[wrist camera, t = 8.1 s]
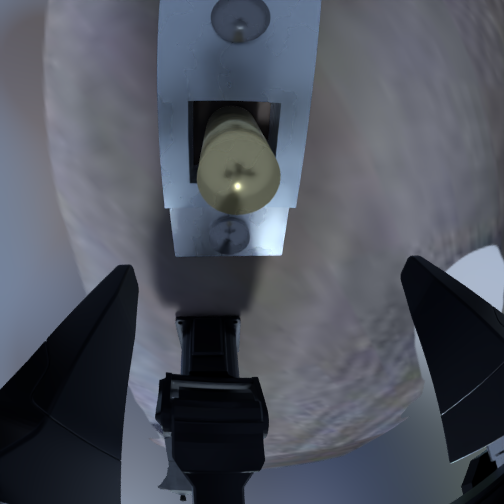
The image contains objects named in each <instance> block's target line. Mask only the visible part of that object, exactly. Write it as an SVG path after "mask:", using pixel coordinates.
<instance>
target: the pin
mask: <svg viewBox="0 0 504 504" xmlns="http://www.w3.org/2000/svg"><path fill="white" fill-rule="evenodd" d="M280 178H281V174H280V167H279V164H278V162H277V160H276V158H275V156H274V154H273V152H272V150H271V148H270V147H269V145H268V143H267V141H266V139H265V137H264V135H263V134H262V132H261V130H260V128H259V126H258V125H257V123H256V121H255V119H254V118H253V116H252V115H251V114H250V113H249V112H248V111H247V110H246V109H244V108H242V107H238V106H225V107H222V108H220V109H218V110H216V111H215V112H214V113H213V114H212V115H211V116H210V118H209V120H208V122H207V125H206V130H205V135H204V140H203V145H202V150H201V155H200V161H199V166H198V172H197V185H198V189H199V192H200V194H201V196H202V197H203V199H204V200H205V201H206V202H207V203H208V204H209V205H210V206H211V207H213V208H214V209H216V210H218V211H220V212H222V213H226V214H231V215H244V214H249V213H252V212H255V211H257V210H259V209H261V208H263V207H264V206H265V205H267V204H268V203H269V202H270V201H271V200H272V199H273V197H274V196H275V194H276V192H277V190H278V188H279V185H280Z"/></svg>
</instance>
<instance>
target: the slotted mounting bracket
mask: <svg viewBox="0 0 504 504" xmlns="http://www.w3.org/2000/svg"><path fill="white" fill-rule="evenodd" d="M320 9H321V0H160V6H159V22H158V48H157V101H158V128H159V146H160V161H161V173H162V185H163V195H164V205H165V208H170V217H171V226H172V234H173V242H174V250H175V257H197V256H261V255H282V250H283V243H284V237H285V231H286V224H287V218H288V211H289V208H296V203H297V197H298V191H299V184H300V178H301V171H302V164H303V158H304V151H305V143H306V136H307V129H308V121H309V114H310V106H311V98H312V89H313V81H314V72H315V63H316V53H317V43H318V32H319V21H320ZM213 100H224V101H258V102H271V110H270V121H269V133H268V145H269V147H270V148H271V150H272V152H273V154H274V156H275V158H276V160H277V162H278V164H279V167H280V174H281V178H280V185H279V188H278V190H277V192H276V194H275V196H274V197H273V199H272V200H271V201H270V202H269V203H268V204H267V205H265V206H264V207H263V208H261V209H259V210H257V211H255V212H252V213H249V214H244V215H231V214H226V213H222V212H220V211H218V210H216V209H214V208H213V207H211V206H210V205H209V204H208V203H207V202H206V201H205V200H204V199H203V197H202V196H201V194H200V192H199V189H198V185H197V172H198V166H199V165H194V152H193V101H213Z"/></svg>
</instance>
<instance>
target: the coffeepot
mask: <svg viewBox="0 0 504 504" xmlns="http://www.w3.org/2000/svg"><path fill="white" fill-rule="evenodd" d="M165 445H166V451H167V456H168V461H169V467H168V472H167V476H166V478H165V479H164V481H163V482H162V484H161V485H159V486H158V488H160V489H163V490H166V491H170V492H173V493H176V494H179V495H181V497H180V500H181V501H186V497H185V495H188V494H192V485H191V484H190V483H189V481H188V480H187V478H186V477H185V476H184V474H183V473H182V472H181V470H180V469H179V467H178V466H177V464H176V463H175V461H174V460H173V458H172V437H168V438H165Z"/></svg>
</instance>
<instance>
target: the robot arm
mask: <svg viewBox="0 0 504 504" xmlns="http://www.w3.org/2000/svg"><path fill="white" fill-rule="evenodd" d="M401 282H402V286H403V289H404V292H405V296H406V299H407V303H408V306H409V310H410V313H411V317H412V320H413V322H414V325H415V328H416V331H417V334H418V336H419V340H420V342H421V346H422V349H423V352H424V355H425V358H426V361H427V365H428V368H429V371H430V375H431V378H432V382H433V385H434V389H435V393H436V397H437V401H438V405H439V409H440V414H441V419H442V423H443V428H444V433H445V439H446V444H447V450H448V456H449V461H450V463H453V462H455V461H457V460H459V459H462V458H464V457H466V456H468V455H470V454H472V453H474V452H476V451H478V450H480V449H482V448H484V447H485V446H486V447H487V450H485V451H484V452H482V453H481V454H480V455H478V456H477V457H476V458H474V459H473V460H471V461H470V464H469V467H468V470H467V473H466V476H465V478H464V481H463V483H462V486H461V488H462V492H463V495H462V496H461V497H459V498H458V499H457V500H455V501H453V502H452V503H450V504H504V314H503V313H501V312H500V311H499V310H497V309H496V308H495V307H492V305H491V304H489V303H488V302H486V301H485V300H484V299H482V298H481V297H480V296H478V295H477V294H475V293H474V292H473V291H472V290H470V289H469V288H467V287H466V286H465V285H463V284H462V283H460V282H459V281H457V280H456V279H454V278H453V277H451V276H450V275H448V274H447V273H446V272H444V271H443V270H441V269H440V268H438V267H437V266H435V265H433V264H432V263H430V262H429V261H427V260H426V259H424V258H423V257H421V256H418V255H417V256H410V257H409V258H408V259H407V261H406V264H405V266H404V268H403V270H402V272H401ZM138 293H139V288H138V283H137V279H136V276H135V273H134V269H133V267H132V266H131V265H118V266H117V267H116V268H115V269H114V270H113V271H112V272H111V273H110V274H109V275H108V276H106V277H105V278H104V279H103V280H102V281H101V282H100V283H99V284H98V285H97V286H96V287H95V288H94V289H93V290H92V291H91V292H90V293H89V294H88V295H87V296H86V297H85V299H84V300H83V301H82V302H81V303H80V304H79V305H78V306H77V307H76V308H75V309H74V310H73V311H72V312H71V313H70V314H69V315H68V316H67V317H66V318H65V319H64V321H63V322H62V323H61V324H60V325H59V326H58V327H57V328H56V329H55V331H53V333H52V334H51V335H50V336H49V337H48V338H47V341H45V342H44V343H43V344H42V345H41V346H40V347H39V348H38V350H37V351H36V352H35V353H34V354H33V355H32V356H31V357H30V359H29V360H28V361H27V362H26V363H25V364H24V365H23V366H22V367H21V368H20V369H19V370H18V371H17V372H16V374H15V375H14V376H13V377H12V378H11V379H10V380H9V381H8V382H7V383H6V384H5V385H4V386H3V387H2V388H1V389H0V504H121V498H120V497H121V461H120V460H121V451H122V437H123V424H124V413H125V403H126V395H127V387H128V379H129V372H130V365H131V359H132V352H133V346H134V340H135V331H136V316H137V304H138ZM175 323H176V328H177V332H178V336H179V340H180V344H181V348H182V355H181V375H180V374H172V373H168V372H166V378H164V379H161V380H159V394H158V401H157V407H156V414H155V419H156V421H157V422H158V423H159V424H160V425H161V429H163V436H164V437H172V458H173V460H174V461H175V463H176V464H177V466H178V467H179V469H180V470H181V472H182V473H183V474H184V476H185V477H186V478H187V480H188V481H189V483H190V484H191V485H192V502H193V504H245V500H244V486H245V485H246V483H247V482H248V480H249V479H250V478H251V476H252V474H253V473H254V472H259V471H260V470H261V468H262V466H263V464H264V462H265V455H264V444H263V439H264V438H266V436H267V434H268V428H269V416H268V410H267V406H266V403H265V399H264V396H263V393H262V389H261V386H260V382H259V379H258V377H252V378H239V368H238V356H237V352H239V341H240V318H239V317H238V316H221V317H177V318H176V322H175ZM172 397H174V398H172Z"/></svg>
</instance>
